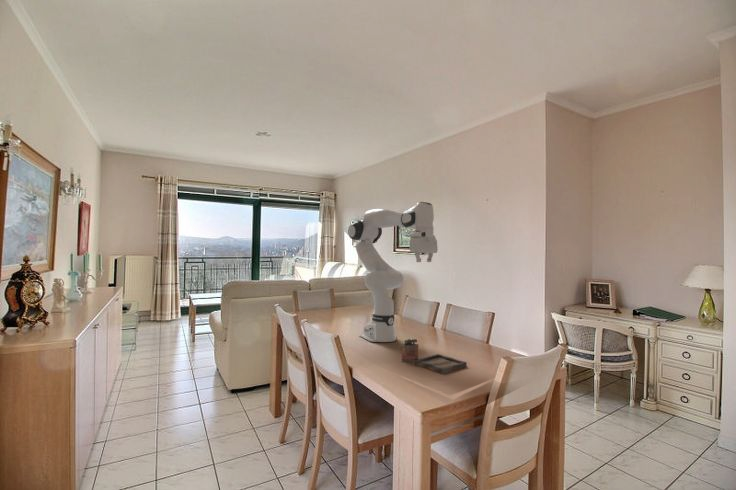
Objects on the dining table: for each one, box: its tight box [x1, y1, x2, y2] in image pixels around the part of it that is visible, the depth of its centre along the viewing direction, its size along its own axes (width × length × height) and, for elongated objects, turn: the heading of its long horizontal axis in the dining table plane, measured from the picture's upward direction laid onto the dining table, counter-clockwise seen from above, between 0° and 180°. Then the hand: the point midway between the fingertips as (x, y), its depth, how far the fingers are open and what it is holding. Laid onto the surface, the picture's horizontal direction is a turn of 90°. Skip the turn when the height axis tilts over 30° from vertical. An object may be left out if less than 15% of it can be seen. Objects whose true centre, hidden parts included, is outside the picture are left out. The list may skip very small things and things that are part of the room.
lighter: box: [401, 338, 419, 363], centre depth 163 cm, size 8×3×10 cm, turn 105°
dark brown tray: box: [414, 353, 467, 375], centre depth 157 cm, size 16×16×2 cm
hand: (424, 262), depth 174 cm, fingers open, 8 cm apart
